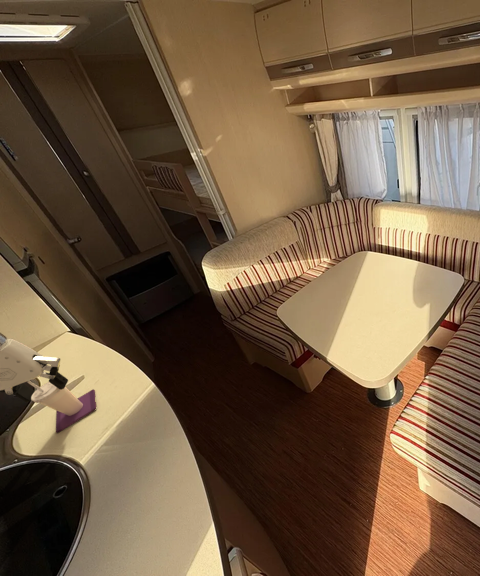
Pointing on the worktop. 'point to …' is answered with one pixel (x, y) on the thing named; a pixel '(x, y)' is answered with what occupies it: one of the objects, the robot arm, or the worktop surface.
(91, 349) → the worktop surface
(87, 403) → the towel mat
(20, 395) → the robot arm
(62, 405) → the smoothie
